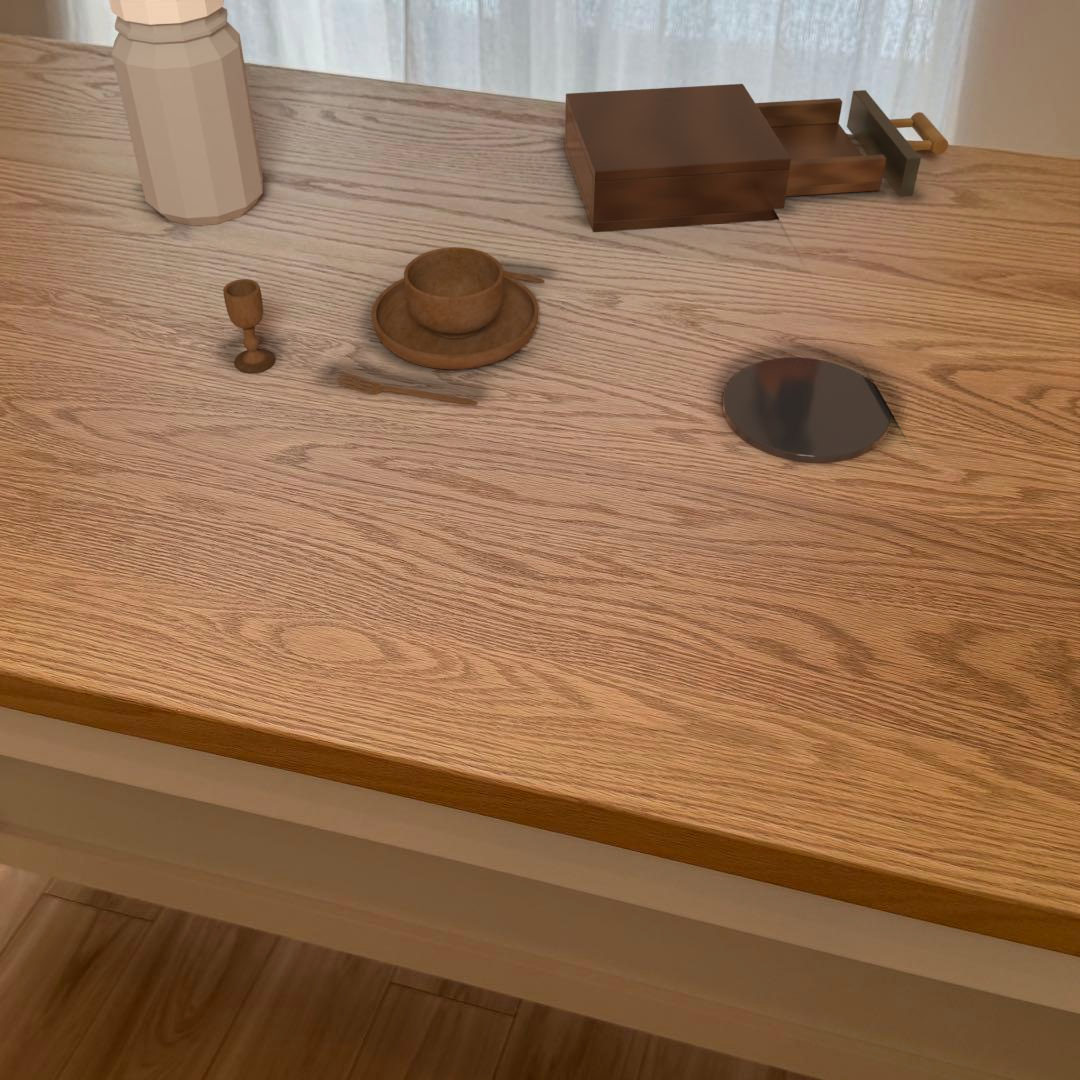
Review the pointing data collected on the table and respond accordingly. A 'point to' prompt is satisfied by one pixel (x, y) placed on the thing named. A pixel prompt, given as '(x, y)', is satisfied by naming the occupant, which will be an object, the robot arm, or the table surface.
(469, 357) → the place setting
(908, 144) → the drawer
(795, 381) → the coaster
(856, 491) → the table surface
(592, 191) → the cabinet
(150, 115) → the jar
